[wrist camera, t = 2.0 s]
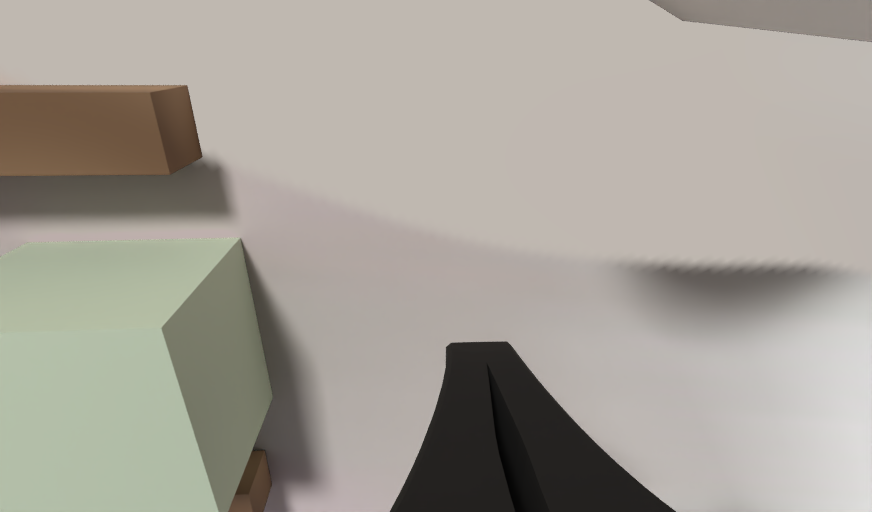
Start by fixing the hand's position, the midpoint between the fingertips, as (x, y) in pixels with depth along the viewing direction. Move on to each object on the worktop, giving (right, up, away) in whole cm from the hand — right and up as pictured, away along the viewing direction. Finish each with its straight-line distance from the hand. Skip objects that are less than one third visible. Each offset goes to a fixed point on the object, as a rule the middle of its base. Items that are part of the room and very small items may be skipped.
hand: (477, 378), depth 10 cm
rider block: (-8, +1, +2) cm, 8 cm away
